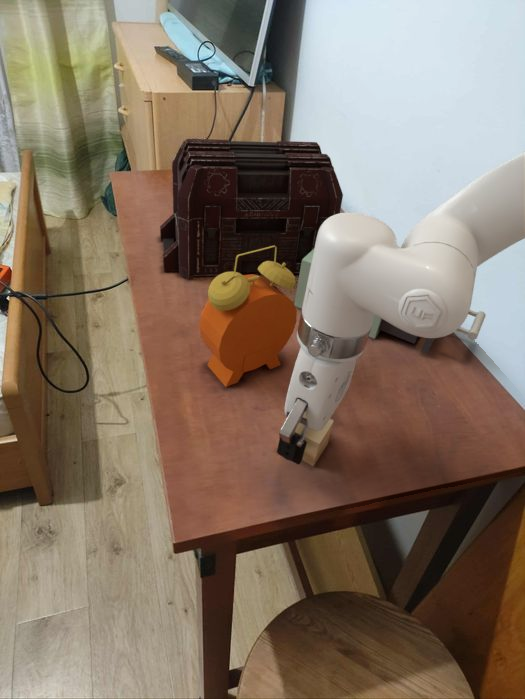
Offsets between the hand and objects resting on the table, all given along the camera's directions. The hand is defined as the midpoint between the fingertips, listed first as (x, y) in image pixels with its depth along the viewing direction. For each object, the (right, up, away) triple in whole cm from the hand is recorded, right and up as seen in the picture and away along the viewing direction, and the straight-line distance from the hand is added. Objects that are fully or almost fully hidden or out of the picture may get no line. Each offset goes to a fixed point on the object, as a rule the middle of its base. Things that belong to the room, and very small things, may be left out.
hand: (306, 432), depth 66 cm
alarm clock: (-9, +8, +13) cm, 17 cm away
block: (0, -2, +2) cm, 3 cm away
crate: (-8, +30, +38) cm, 50 cm away
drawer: (+21, +15, +23) cm, 34 cm away
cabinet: (+10, +19, +28) cm, 35 cm away
